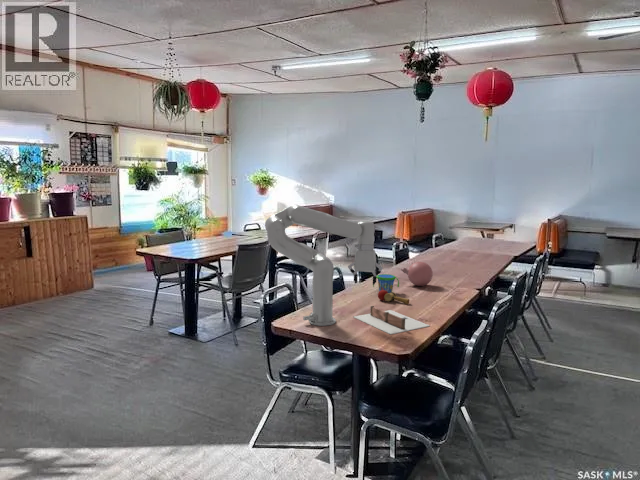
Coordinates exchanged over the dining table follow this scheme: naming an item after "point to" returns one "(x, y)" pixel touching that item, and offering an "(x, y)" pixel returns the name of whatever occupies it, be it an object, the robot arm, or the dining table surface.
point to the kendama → (391, 297)
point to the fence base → (394, 320)
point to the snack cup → (386, 282)
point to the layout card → (389, 328)
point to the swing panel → (377, 313)
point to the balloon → (419, 273)
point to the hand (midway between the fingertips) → (364, 283)
